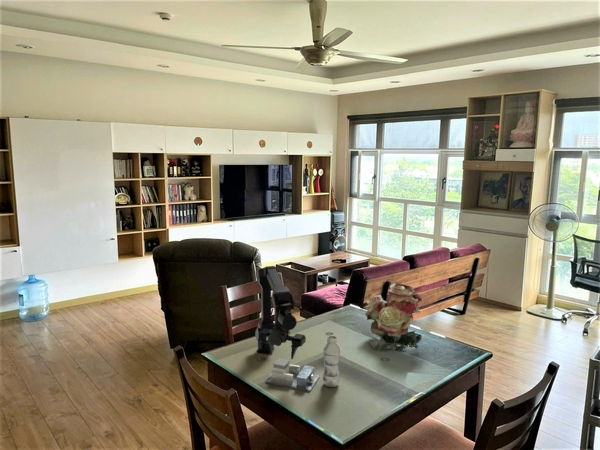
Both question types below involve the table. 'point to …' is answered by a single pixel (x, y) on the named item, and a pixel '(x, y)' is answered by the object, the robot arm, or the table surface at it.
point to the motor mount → (295, 378)
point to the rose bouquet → (393, 319)
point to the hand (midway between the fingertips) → (281, 357)
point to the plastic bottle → (331, 362)
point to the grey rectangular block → (281, 366)
